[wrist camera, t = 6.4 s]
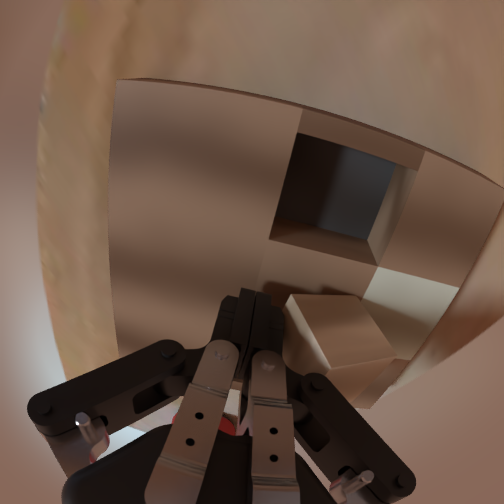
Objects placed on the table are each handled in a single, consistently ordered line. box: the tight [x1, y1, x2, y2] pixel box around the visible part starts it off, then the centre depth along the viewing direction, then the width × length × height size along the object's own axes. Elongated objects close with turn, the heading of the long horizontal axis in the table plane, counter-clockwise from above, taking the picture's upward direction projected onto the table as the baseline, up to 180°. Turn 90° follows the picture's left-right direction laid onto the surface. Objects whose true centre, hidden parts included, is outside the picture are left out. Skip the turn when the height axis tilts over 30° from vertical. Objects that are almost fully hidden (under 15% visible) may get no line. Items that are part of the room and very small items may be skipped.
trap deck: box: [108, 78, 504, 409], centre depth 17 cm, size 18×19×3 cm
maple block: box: [282, 294, 397, 403], centre depth 14 cm, size 4×4×4 cm
